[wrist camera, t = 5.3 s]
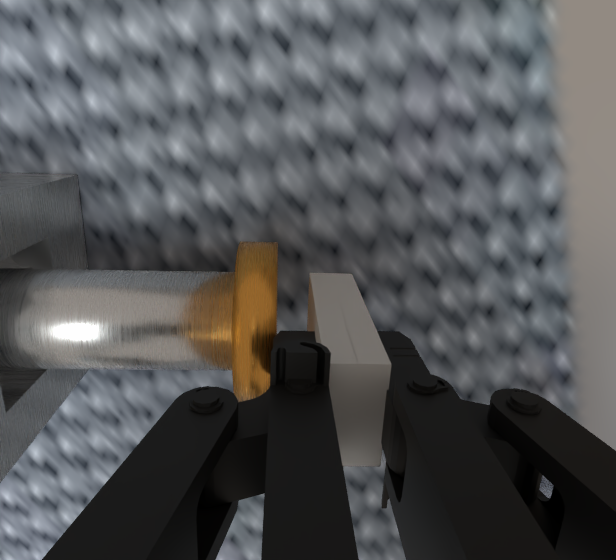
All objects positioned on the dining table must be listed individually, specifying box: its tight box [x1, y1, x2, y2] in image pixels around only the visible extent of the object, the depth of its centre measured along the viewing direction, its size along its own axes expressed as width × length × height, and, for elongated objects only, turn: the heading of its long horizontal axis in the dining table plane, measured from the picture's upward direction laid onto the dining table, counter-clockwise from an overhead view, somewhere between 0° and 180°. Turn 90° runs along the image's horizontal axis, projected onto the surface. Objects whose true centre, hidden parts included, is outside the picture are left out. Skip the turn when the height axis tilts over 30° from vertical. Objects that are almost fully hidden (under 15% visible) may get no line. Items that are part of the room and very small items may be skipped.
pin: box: [0, 242, 278, 402], centre depth 16 cm, size 5×12×5 cm, turn 88°
